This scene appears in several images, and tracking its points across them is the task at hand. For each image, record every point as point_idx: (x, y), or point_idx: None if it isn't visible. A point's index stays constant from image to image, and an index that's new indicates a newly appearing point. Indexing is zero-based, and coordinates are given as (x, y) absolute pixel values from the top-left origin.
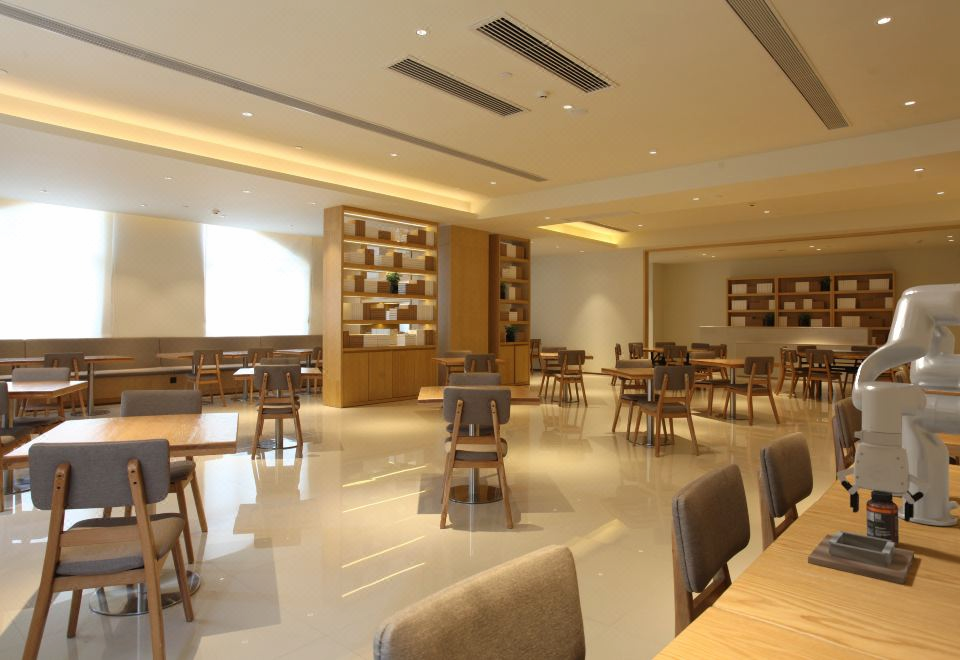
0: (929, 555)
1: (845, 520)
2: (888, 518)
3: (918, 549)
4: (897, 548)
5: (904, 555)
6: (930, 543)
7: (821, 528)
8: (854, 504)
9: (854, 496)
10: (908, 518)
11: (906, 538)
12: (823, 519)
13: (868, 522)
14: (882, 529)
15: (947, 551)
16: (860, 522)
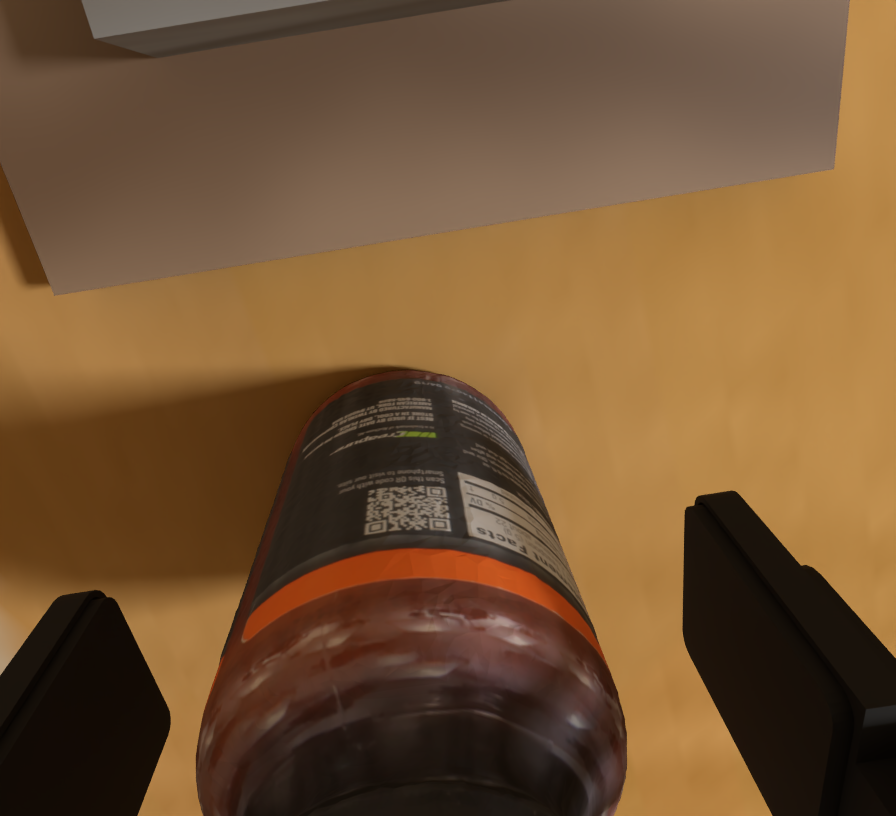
0: (42, 437)
1: None
2: (285, 541)
3: (164, 517)
4: (188, 263)
5: (29, 57)
6: (179, 701)
7: (879, 459)
8: (773, 564)
9: (868, 684)
10: (43, 631)
11: None
12: None
13: (523, 486)
14: (361, 433)
15: (24, 625)
16: (656, 779)
